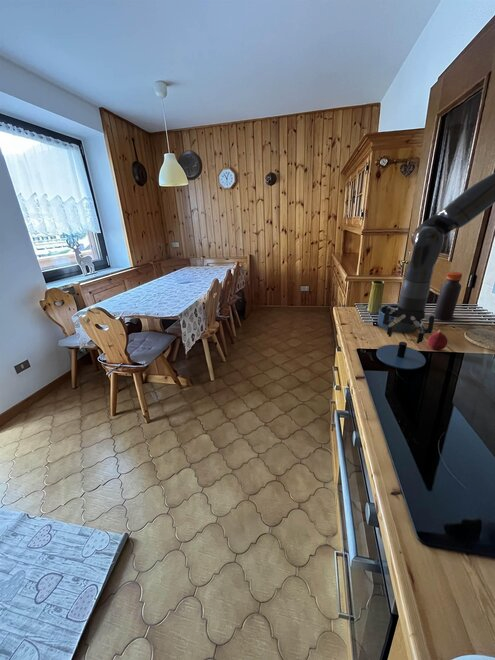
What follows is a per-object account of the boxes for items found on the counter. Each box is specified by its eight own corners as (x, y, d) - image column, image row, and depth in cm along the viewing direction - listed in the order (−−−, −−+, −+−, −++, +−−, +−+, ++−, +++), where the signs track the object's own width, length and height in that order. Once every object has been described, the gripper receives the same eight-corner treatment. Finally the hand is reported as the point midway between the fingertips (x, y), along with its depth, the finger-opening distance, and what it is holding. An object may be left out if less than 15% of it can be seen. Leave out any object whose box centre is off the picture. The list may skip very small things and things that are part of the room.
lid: (428, 354, 99) (432, 339, 96) (420, 376, 89) (425, 360, 86) (382, 343, 108) (385, 329, 105) (370, 362, 97) (373, 347, 94)
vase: (378, 308, 137) (383, 279, 130) (382, 313, 131) (387, 283, 125) (365, 308, 138) (369, 280, 131) (369, 313, 132) (373, 284, 126)
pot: (419, 320, 123) (422, 306, 120) (409, 339, 109) (413, 324, 106) (384, 313, 131) (386, 300, 128) (371, 330, 117) (373, 316, 114)
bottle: (434, 313, 128) (446, 270, 119) (452, 317, 124) (466, 272, 115) (432, 319, 123) (443, 274, 114) (450, 322, 119) (464, 276, 110)
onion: (448, 354, 99) (454, 334, 95) (431, 355, 99) (436, 335, 95) (438, 346, 104) (443, 326, 100) (422, 346, 104) (427, 327, 100)
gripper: (386, 293, 89) (378, 338, 96) (439, 301, 81) (426, 350, 88) (392, 286, 94) (384, 329, 101) (442, 293, 86) (430, 340, 93)
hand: (403, 339), depth 95 cm, fingers open, 8 cm apart
